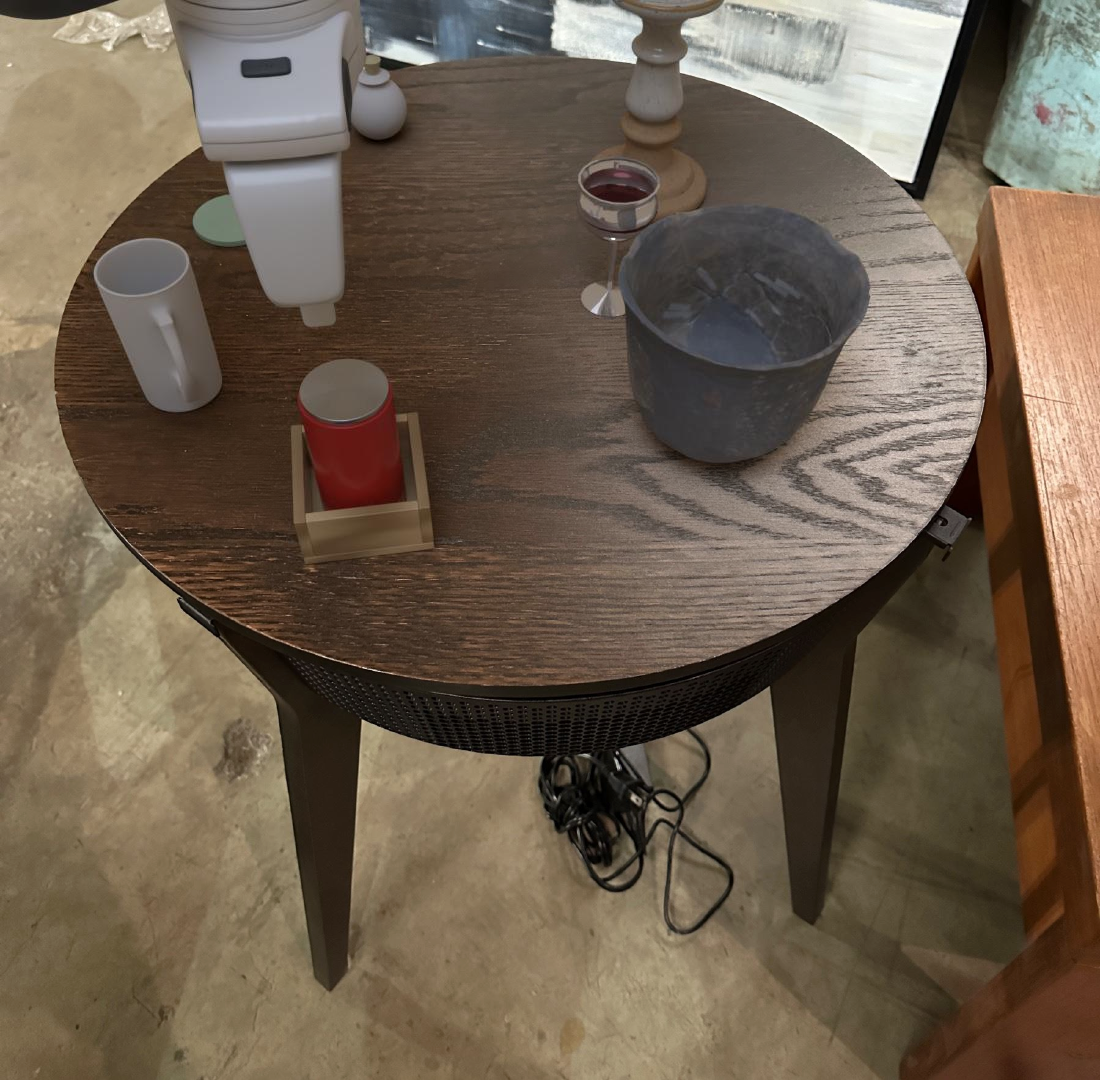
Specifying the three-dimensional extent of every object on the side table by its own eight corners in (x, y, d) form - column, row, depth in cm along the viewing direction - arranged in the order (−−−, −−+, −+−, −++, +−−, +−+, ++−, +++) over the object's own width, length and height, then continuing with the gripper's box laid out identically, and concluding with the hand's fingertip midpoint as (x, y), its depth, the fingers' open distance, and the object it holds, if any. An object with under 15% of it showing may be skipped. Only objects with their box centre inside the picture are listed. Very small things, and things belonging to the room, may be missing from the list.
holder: (305, 565, 74) (293, 523, 70) (301, 468, 79) (290, 425, 75) (434, 549, 75) (430, 507, 71) (422, 455, 80) (417, 411, 77)
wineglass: (566, 276, 94) (571, 158, 85) (639, 272, 95) (652, 154, 85) (576, 325, 90) (583, 207, 80) (652, 321, 91) (668, 202, 81)
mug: (132, 372, 85) (84, 252, 76) (212, 348, 87) (175, 228, 78) (164, 453, 80) (116, 335, 70) (248, 426, 82) (213, 307, 72)
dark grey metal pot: (845, 511, 78) (904, 364, 66) (614, 518, 77) (632, 370, 65) (797, 351, 89) (841, 200, 77) (594, 355, 88) (606, 203, 76)
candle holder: (579, 153, 106) (589, -55, 90) (697, 153, 107) (728, -54, 91) (586, 226, 99) (599, 13, 83) (713, 225, 99) (750, 14, 83)
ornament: (416, 145, 106) (407, 49, 98) (345, 158, 105) (331, 62, 97) (400, 115, 110) (390, 20, 102) (331, 127, 108) (316, 32, 100)
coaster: (192, 250, 95) (190, 244, 95) (195, 201, 100) (193, 196, 99) (276, 243, 96) (275, 237, 96) (275, 195, 100) (274, 190, 100)
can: (324, 538, 74) (297, 428, 65) (321, 474, 78) (294, 361, 69) (410, 528, 75) (395, 417, 66) (403, 465, 79) (388, 352, 69)
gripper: (207, -63, 55) (261, 168, 66) (195, 151, 43) (263, 391, 54) (326, -70, 56) (360, 160, 67) (348, 138, 43) (384, 378, 54)
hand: (317, 265), depth 60 cm, fingers open, 8 cm apart
